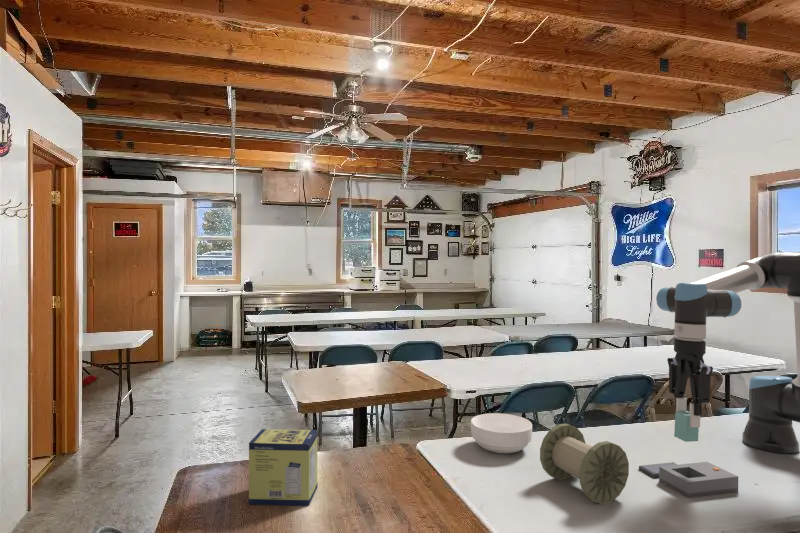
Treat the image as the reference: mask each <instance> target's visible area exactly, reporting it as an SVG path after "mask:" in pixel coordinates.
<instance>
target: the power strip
mask: <svg viewBox="0 0 800 533" xmlns="http://www.w3.org/2000/svg"><path fill="white" fill-rule="evenodd" d="M658 478H659V480H658V481H659V482H660V483H661V484H664V485H665V486H667V487H669V488H670V489H673V490H674V491H676V492H678V493H679V494H681V495H683V496H684V497H686V498H698V497H705V496H711V495H720V494H721V495H722V494H728V493H736V492H737V493H738V492H739V476H738V475H736V474H734V473H732V472H730V471H728V470H726V469H723V468H721V467H720V466H716V465H715V464H712V463H710V462H708V461H701V462H700V461H699V462H692V463H681V464H678V465H670V466H661V467H659V477H658Z"/></svg>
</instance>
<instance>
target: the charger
mask: <svg viewBox="0 0 800 533" xmlns="http://www.w3.org/2000/svg"><path fill="white" fill-rule="evenodd" d="M689 420H690V410H689V411H688V410H686V411H676V410H675V414H674V432H673V433H674V434H673V436H674V437H675V438H677V439H679V440H681V441H683V442H685V443H687V442H699V431H700V430H699V428H700V427H694V428H691V427H689Z"/></svg>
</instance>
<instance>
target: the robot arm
mask: <svg viewBox="0 0 800 533" xmlns="http://www.w3.org/2000/svg"><path fill="white" fill-rule="evenodd" d="M766 288H767V289H769V288H771V289H773V288H774V289H783V290H784V289H785V290H786V291H787V292H786V295H787V297H788V298H790V300H792V301H793V311H794V312H793V314H794V328H795V329H794V332H795V350H796V372H797V376H796V377H795V378H792V377H789V376H785V375H784V376H782V375H756V376H752V377H750V379H749V384H748V420H747V423H746V424H745V427H744V431H743V432H742V442H743V443H744V444H746V445H748V446H750V447H752V448H755V449H757V450H758V449H759V450H762V451H766V452H770V453H778V454H797V453H798V452H799V451H800V443H799V441H798V438H797V435H796V432H795V430H794V427H793V422H796V423H800V251H793V252H792V251H791V252H790V251H788V252H786V251H785V252H784V251H779V252H772V253H767V254H764V255H759V256H757V257H754V258H751V259H748V260H746V261H745V260H744V261H742V262H740V263H738V265H736V267H735V268H732V269H728V270H725V271H722V272H720V273H717V274H713V275H711V276H708V277H705V278H702V279H699V280H696V281H693V282H678V283H677V284H676V285H675V287H673V286H669V287H667V286H666V287H662V288H660V289H659V290H658V291H657V293H656V297H655V300H656V305H657V306H658V308H659V309H660V310H662V311H664V312H670V313H674V330H673V331H674V333H673V334H674V337H675V338H674V339H673V351H674V352H675V353H676V354H675V356H674V357H668V358H667V364H668V392H669V393H670V394H673V396H674V408H675V411H688V410H687V404H688V403H687V402H688V401H687V400H688V398H687V395H686V389H687V383H688V379H689V385H690V393H691V399H692V400H691V401H689V412H690V420H689V427H691V428H694V427H699V428H701V417H702V415H703V404H708V403H710V399H711V398H710V397H711V396H710V395H711V379H712V373H713V370H714V367H713V366H711V365H710V366H709V365H707V364H706V363H705V360H704V355H706V351H707V350H706V349H707V347H706V344H707V343H706V341H705V339H707V318H727V317H733V316H735V315H737V314H739V312H740V311H741V310H742V309H741V308H742V300H741V297H740V295H739V294H737V293H741V292H743V291H746V290H750V291H755V290H759V289H766Z"/></svg>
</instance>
